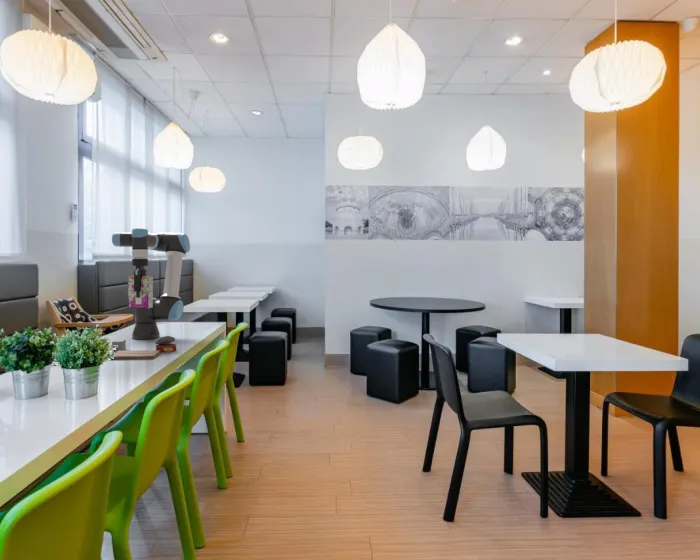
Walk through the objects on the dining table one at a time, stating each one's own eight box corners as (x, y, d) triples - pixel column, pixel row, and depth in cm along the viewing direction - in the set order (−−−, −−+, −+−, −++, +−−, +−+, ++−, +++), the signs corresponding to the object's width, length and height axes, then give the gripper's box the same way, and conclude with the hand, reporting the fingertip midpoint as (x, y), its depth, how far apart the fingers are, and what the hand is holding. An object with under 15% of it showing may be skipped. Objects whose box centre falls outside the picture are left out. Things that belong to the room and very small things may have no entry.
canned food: (157, 361, 239) (147, 344, 238) (165, 355, 249) (155, 338, 248) (176, 352, 238) (166, 334, 237) (183, 346, 248) (174, 329, 247)
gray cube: (115, 349, 245) (115, 339, 245) (125, 349, 246) (125, 339, 245) (112, 351, 240) (112, 341, 240) (122, 351, 241) (122, 341, 240)
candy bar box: (127, 308, 240) (127, 276, 240) (132, 307, 245) (132, 275, 245) (148, 308, 239) (148, 276, 239) (153, 307, 244) (153, 276, 244)
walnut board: (119, 353, 234) (119, 350, 234) (160, 353, 237) (160, 350, 237) (108, 359, 221) (108, 356, 220) (153, 359, 223) (153, 356, 223)
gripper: (138, 258, 250) (138, 301, 251) (126, 258, 231) (126, 305, 233) (152, 258, 251) (153, 301, 252) (142, 258, 232) (142, 305, 234)
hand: (140, 303), depth 242 cm, fingers closed on candy bar box, 6 cm apart
